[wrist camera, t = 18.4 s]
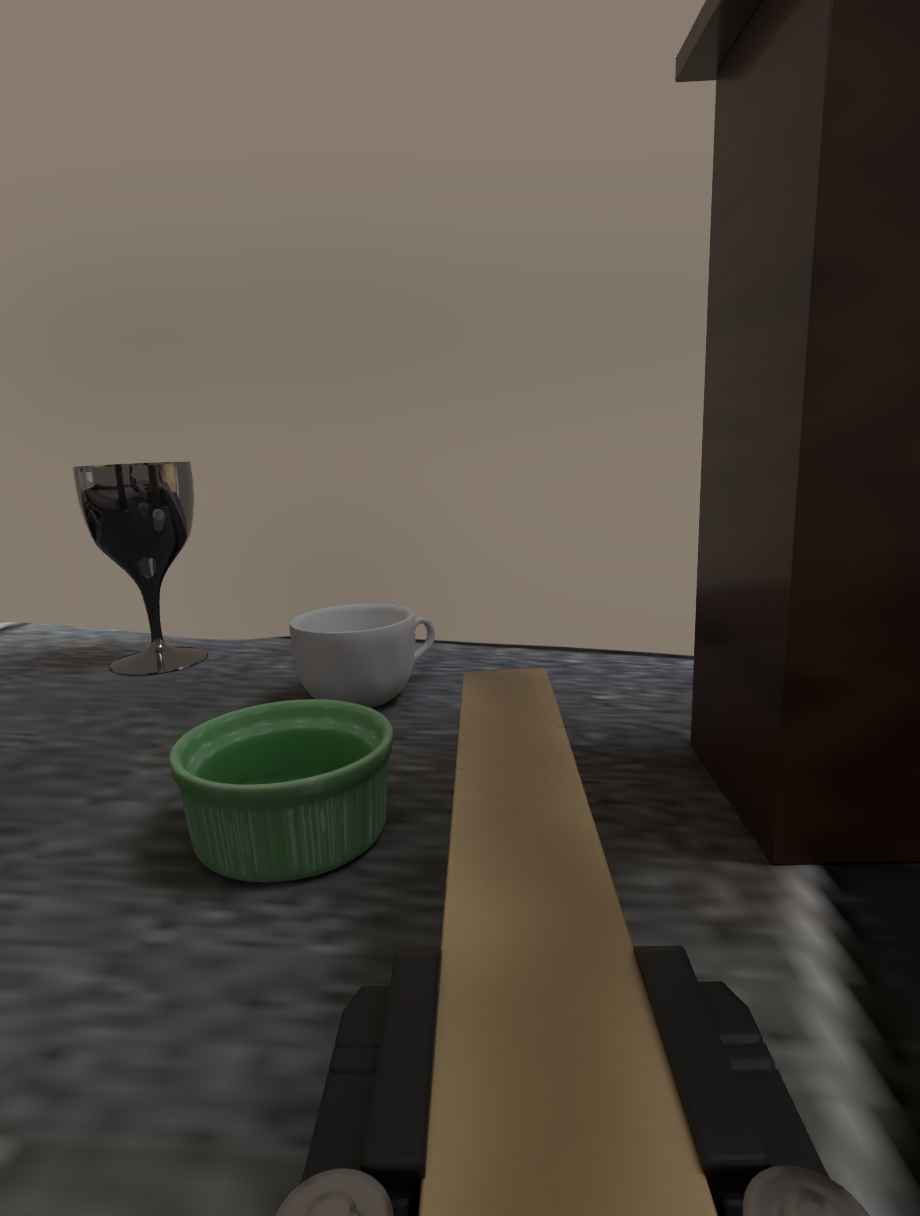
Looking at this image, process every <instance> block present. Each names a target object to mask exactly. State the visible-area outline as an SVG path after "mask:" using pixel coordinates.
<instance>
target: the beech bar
mask: <svg viewBox="0 0 920 1216" xmlns="http://www.w3.org/2000/svg"><path fill="white" fill-rule="evenodd" d="M441 949H442V965H441V978H440V992H439V1005H438V1018H437V1031H436V1044H435V1057H434V1070H433V1083H432V1096H431V1109H430V1122H429V1135H428V1148H427V1161H426V1174H425V1178H424V1179H422V1181H421V1189H420V1201H419V1213H418V1216H718V1215H717V1211H716V1208H715V1205H714V1202H713V1199H712V1195H711V1192H710V1189H709V1186H708V1183H707V1179H706V1177H705V1175H704V1172H703V1169H702V1166H701V1162H700V1159H699V1156H698V1153H697V1150H696V1146H695V1143H694V1140H693V1137H692V1134H691V1131H690V1127H689V1124H688V1121H687V1118H686V1115H685V1111H684V1108H683V1105H682V1102H681V1099H680V1095H679V1092H678V1089H677V1086H676V1083H675V1079H674V1076H673V1073H672V1070H671V1067H670V1064H669V1060H668V1057H667V1054H666V1051H665V1048H664V1044H663V1041H662V1038H661V1035H660V1032H659V1028H658V1025H657V1022H656V1019H655V1016H654V1012H653V1009H652V1006H651V1003H650V1000H649V996H648V993H647V990H646V987H645V984H644V981H643V977H642V974H641V971H640V968H639V965H638V961H637V958H636V955H635V952H634V947H633V944H632V941H631V937H630V934H629V931H628V928H627V925H626V921H625V918H624V915H623V912H622V909H621V906H620V902H619V899H618V896H617V893H616V890H615V886H614V883H613V880H612V877H611V874H610V870H609V867H608V864H607V861H606V858H605V855H604V851H603V848H602V845H601V842H600V839H599V835H598V832H597V829H596V826H595V823H594V820H593V816H592V813H591V810H590V807H589V804H588V800H587V797H586V794H585V791H584V788H583V784H582V781H581V778H580V775H579V772H578V769H577V765H576V762H575V759H574V756H573V753H572V749H571V746H570V743H569V740H568V737H567V733H566V730H565V727H564V724H563V721H562V718H561V714H560V711H559V708H558V705H557V702H556V698H555V695H554V692H553V689H552V686H551V683H550V679H549V676H548V673H547V670H546V668H538V669H515V670H491V671H468V672H464V674H463V686H462V698H461V710H460V722H459V734H458V746H457V758H456V770H455V782H454V794H453V806H452V818H451V830H450V842H449V854H448V866H447V878H446V890H445V902H444V914H443V926H442V938H441Z"/></svg>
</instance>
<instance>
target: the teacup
mask: <svg viewBox="0 0 920 1216" xmlns="http://www.w3.org/2000/svg"><path fill="white" fill-rule="evenodd" d="M421 623H423V624H424V625H425V626H426V629H427V638H426V641H425V643H424V644H423V645H422V646H421V647H420V648H419V649H417V650H415V629H416V627H417V626H418V625H419V624H421ZM290 634H291V641H292V648H293V653H294V659H295V664H296V669H297V673H298V676H299V678H300V680H301V683H302V684H303V686H304V687H305V689H306V690H307V691H308V693H309V694H310V695H311V696H312V697H313V698H314V699H326V700H337V701H344V702H350V703H355V704H359V705H363V706H366V707H369V708H373V707H377V706H380V705H383V704H385V703H387V702H389V701H390V700H391V699H392V698H394V697H395V696H397V695H398V694H399V693H400V692H401V691H402V690H403V689H404V687H405V686H406V684H407V682H408V680H409V678H410V676H411V673H412V669H413V664H414V661H416V660H417V659H418V658H420V657H421V656H422V655H423V654H424V653H426V652H427V651H428V649H429V648H430V647H431V645H432V644H433V641H434V637H435V632H434V627H433V625H432V623H431V622H430V621H429V620H428V619H426V618H424V617H415V613H414V611H413V610H412V609H410V608H407V607H404V606H400V605H394V604H381V603H362V604H348V605H338V606H331V607H326V608H320V609H316V610H312V611H308V612H305V613H303V614H300V615H298V616H296V617H294V618H293V619H291V621H290Z"/></svg>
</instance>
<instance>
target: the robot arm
mask: <svg viewBox="0 0 920 1216" xmlns="http://www.w3.org/2000/svg"><path fill="white" fill-rule="evenodd" d="M634 952H635V955H636V958H637V961H638V965H639V968H640V971H641V974H642V977H643V981H644V984H645V987H646V990H647V993H648V996H649V1000H650V1003H651V1006H652V1009H653V1012H654V1016H655V1019H656V1022H657V1025H658V1028H659V1032H660V1035H661V1038H662V1041H663V1044H664V1048H665V1051H666V1054H667V1057H668V1060H669V1064H670V1067H671V1070H672V1073H673V1076H674V1079H675V1083H676V1086H677V1089H678V1092H679V1095H680V1099H681V1102H682V1105H683V1108H684V1111H685V1115H686V1118H687V1121H688V1124H689V1127H690V1131H691V1134H692V1137H693V1140H694V1143H695V1146H696V1150H697V1153H698V1156H699V1159H700V1162H701V1166H702V1169H703V1172H704V1175H705V1177H706V1179H707V1183H708V1186H709V1189H710V1192H711V1195H712V1199H713V1202H714V1205H715V1208H716V1211H717V1215H718V1216H869V1214H868V1213H867V1212H866V1210H865V1209H864V1208H863V1207H862V1205H861V1204H860V1203H859V1202H858V1201H857V1200H856V1199H855V1198H854V1197H853V1196H852V1195H851V1194H850V1193H849V1192H848V1191H846V1190H845V1189H844V1188H843V1187H842V1186H840V1185H839V1184H837V1183H836V1182H834V1181H833V1180H831V1179H830V1178H829V1176H828V1174H827V1172H826V1170H825V1169H824V1167H823V1164H822V1162H821V1160H820V1158H819V1156H818V1154H817V1152H816V1150H815V1147H814V1145H813V1143H812V1141H811V1139H810V1137H809V1135H808V1133H807V1131H806V1128H805V1126H804V1124H803V1122H802V1120H801V1118H800V1116H799V1114H798V1112H797V1109H796V1107H795V1105H794V1103H793V1101H792V1099H791V1097H790V1095H789V1092H788V1090H787V1088H786V1086H785V1084H784V1082H783V1080H782V1078H781V1076H780V1073H779V1071H778V1070H776V1069H775V1063H774V1061H773V1059H772V1057H771V1054H770V1052H769V1050H768V1048H767V1046H766V1044H764V1043H763V1038H762V1035H761V1033H760V1031H759V1029H758V1027H757V1025H756V1023H755V1021H754V1018H753V1016H752V1014H751V1012H750V1010H749V1008H748V1007H747V1006H746V1005H745V1004H744V1003H743V1002H742V1001H741V1000H740V999H739V998H738V997H737V996H736V995H735V994H734V993H733V992H732V991H731V990H730V989H729V988H728V987H727V986H726V985H725V984H724V983H723V982H698V981H697V979H696V976H695V974H694V971H693V969H692V966H691V964H690V961H689V959H688V956H687V954H686V951H685V949H684V948H683V947H682V946H639V947H634ZM441 965H442V949H434V950H397V951H396V953H395V958H394V964H393V970H392V977H391V983H390V986H362V987H361V988H360V990H359V991H358V992H357V994H356V995H355V996H354V998H353V999H352V1000H351V1002H350V1003H349V1004H348V1006H347V1007H346V1008H345V1010H344V1011H343V1012H342V1016H341V1021H340V1025H339V1029H338V1033H337V1037H336V1041H335V1048H334V1050H333V1054H332V1058H331V1062H330V1067H329V1074H328V1075H327V1079H326V1083H325V1087H324V1092H323V1096H322V1100H321V1104H320V1108H319V1112H318V1117H317V1121H316V1125H315V1129H314V1133H313V1138H312V1142H311V1146H310V1150H309V1154H308V1158H307V1163H306V1167H305V1171H304V1174H303V1177H302V1180H301V1183H300V1185H299V1186H298V1187H296V1188H295V1189H294V1190H293V1191H292V1192H291V1193H290V1194H289V1195H288V1196H287V1197H286V1199H285V1200H284V1202H283V1203H282V1204H281V1206H280V1207H279V1209H278V1211H277V1213H276V1215H275V1216H418V1213H419V1201H420V1189H421V1181H422V1179H424V1178H425V1174H426V1161H427V1148H428V1135H429V1122H430V1109H431V1096H432V1083H433V1070H434V1057H435V1044H436V1031H437V1018H438V1005H439V992H440V978H441Z"/></svg>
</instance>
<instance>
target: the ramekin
mask: <svg viewBox="0 0 920 1216" xmlns="http://www.w3.org/2000/svg"><path fill="white" fill-rule="evenodd" d="M392 745H393V728H392V725H391V723H390V722H389V721H388V719H387V718H386V717H385V716H384V715H382V714H381V713H379V712H377V711H376V710H374V709H371V708H369V707H366V706H363V705H359V704H355V703H350V702H344V701H337V700H326V699H312V700H291V701H281V702H273V703H267V704H261V705H256V706H252V707H247V708H243V709H240V710H236V711H233V712H229V713H226V714H224V715H221V716H219V717H216V718H214V719H211V720H209V721H207V722H205V723H203V724H201V725H199V726H197V727H195V728H193V729H192V730H190V731H189V732H187V733H186V734H184V735H183V736H182V737H181V738H180V739H179V740H178V741H177V742H176V743H175V744H174V746H173V747H172V749H171V752H170V755H169V764H170V768H171V772H172V774H173V777H174V779H175V781H176V783H177V784H178V786H179V789H180V793H181V798H182V802H183V807H184V811H185V816H186V821H187V825H188V830H189V834H190V838H191V843H192V847H193V850H194V853H195V855H196V856H197V858H198V859H199V860H200V861H201V862H202V863H203V864H204V865H205V866H206V867H207V868H209V869H210V870H212V871H213V872H215V873H217V874H220V875H222V876H225V877H227V878H231V879H236V880H240V881H247V882H258V883H274V882H285V881H293V880H299V879H304V878H309V877H313V876H317V875H320V874H323V873H326V872H329V871H331V870H334V869H336V868H338V867H341V866H343V865H344V864H346V863H348V862H350V861H352V860H353V859H355V858H357V857H358V856H359V855H361V854H362V853H364V852H365V851H366V850H367V849H368V848H369V847H370V846H372V845H373V843H374V842H375V841H376V840H377V838H378V837H379V836H380V834H381V832H382V830H383V828H384V825H385V821H386V816H387V789H388V765H389V755H390V753H391V750H392Z"/></svg>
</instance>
